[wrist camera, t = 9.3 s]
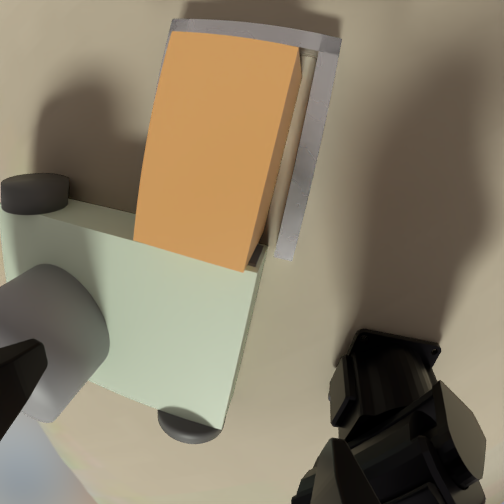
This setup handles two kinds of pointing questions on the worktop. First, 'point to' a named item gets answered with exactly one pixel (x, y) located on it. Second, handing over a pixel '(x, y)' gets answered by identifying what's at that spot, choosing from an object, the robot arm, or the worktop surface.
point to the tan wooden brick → (215, 145)
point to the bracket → (316, 111)
